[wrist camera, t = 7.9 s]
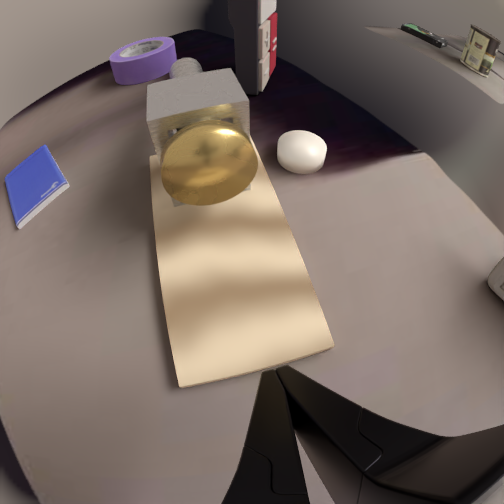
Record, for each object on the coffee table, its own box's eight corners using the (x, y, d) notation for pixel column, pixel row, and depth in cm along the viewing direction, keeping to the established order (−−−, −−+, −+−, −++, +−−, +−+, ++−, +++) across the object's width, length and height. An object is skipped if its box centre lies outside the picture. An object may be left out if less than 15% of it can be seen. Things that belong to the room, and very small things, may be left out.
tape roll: (181, 54, 47) (178, 32, 42) (172, 78, 41) (167, 52, 36) (125, 64, 46) (120, 44, 42) (107, 91, 41) (99, 68, 36)
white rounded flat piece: (331, 171, 29) (334, 157, 28) (286, 179, 29) (287, 164, 27) (312, 141, 32) (315, 128, 30) (270, 147, 31) (271, 133, 29)
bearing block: (250, 189, 26) (248, 100, 18) (174, 207, 26) (146, 121, 17) (235, 148, 29) (230, 67, 21) (168, 163, 28) (147, 84, 20)
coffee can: (484, 71, 56) (496, 37, 44) (490, 81, 52) (504, 45, 40) (457, 56, 59) (468, 21, 46) (461, 64, 54) (474, 26, 42)
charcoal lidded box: (263, 97, 36) (263, -4, 23) (232, 94, 37) (227, -5, 24) (277, 67, 42) (280, -14, 29) (251, 64, 42) (250, -15, 29)
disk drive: (446, 47, 64) (409, 28, 69) (448, 41, 61) (410, 22, 67) (440, 49, 60) (399, 30, 65) (442, 43, 58) (401, 23, 63)
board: (331, 348, 20) (334, 345, 19) (182, 388, 19) (179, 387, 18) (249, 141, 31) (249, 134, 30) (151, 162, 30) (149, 156, 29)
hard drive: (66, 180, 28) (44, 143, 33) (14, 224, 25) (3, 177, 30) (71, 189, 30) (49, 150, 34) (22, 232, 27) (8, 184, 31)
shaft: (257, 194, 23) (258, 125, 17) (173, 214, 22) (150, 148, 16) (216, 89, 31) (212, 41, 25) (161, 101, 30) (151, 53, 25)
